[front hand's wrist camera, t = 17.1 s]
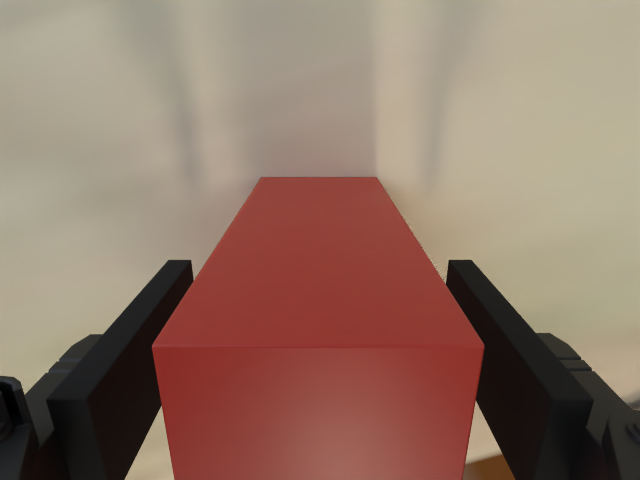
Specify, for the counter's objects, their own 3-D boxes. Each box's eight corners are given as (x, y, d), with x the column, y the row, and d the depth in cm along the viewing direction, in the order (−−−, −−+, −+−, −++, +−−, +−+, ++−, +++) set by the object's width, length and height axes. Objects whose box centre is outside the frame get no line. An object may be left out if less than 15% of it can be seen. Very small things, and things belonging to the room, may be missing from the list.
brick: (377, 177, 16) (486, 345, 6) (370, 318, 19) (437, 629, 8) (260, 176, 16) (150, 345, 6) (268, 318, 19) (199, 629, 8)
